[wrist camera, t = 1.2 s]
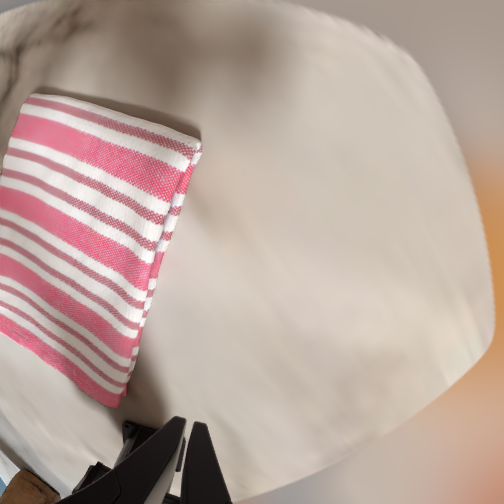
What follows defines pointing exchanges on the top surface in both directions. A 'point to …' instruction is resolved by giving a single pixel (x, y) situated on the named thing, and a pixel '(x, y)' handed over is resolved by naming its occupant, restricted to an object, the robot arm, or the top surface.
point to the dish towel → (86, 234)
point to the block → (28, 490)
